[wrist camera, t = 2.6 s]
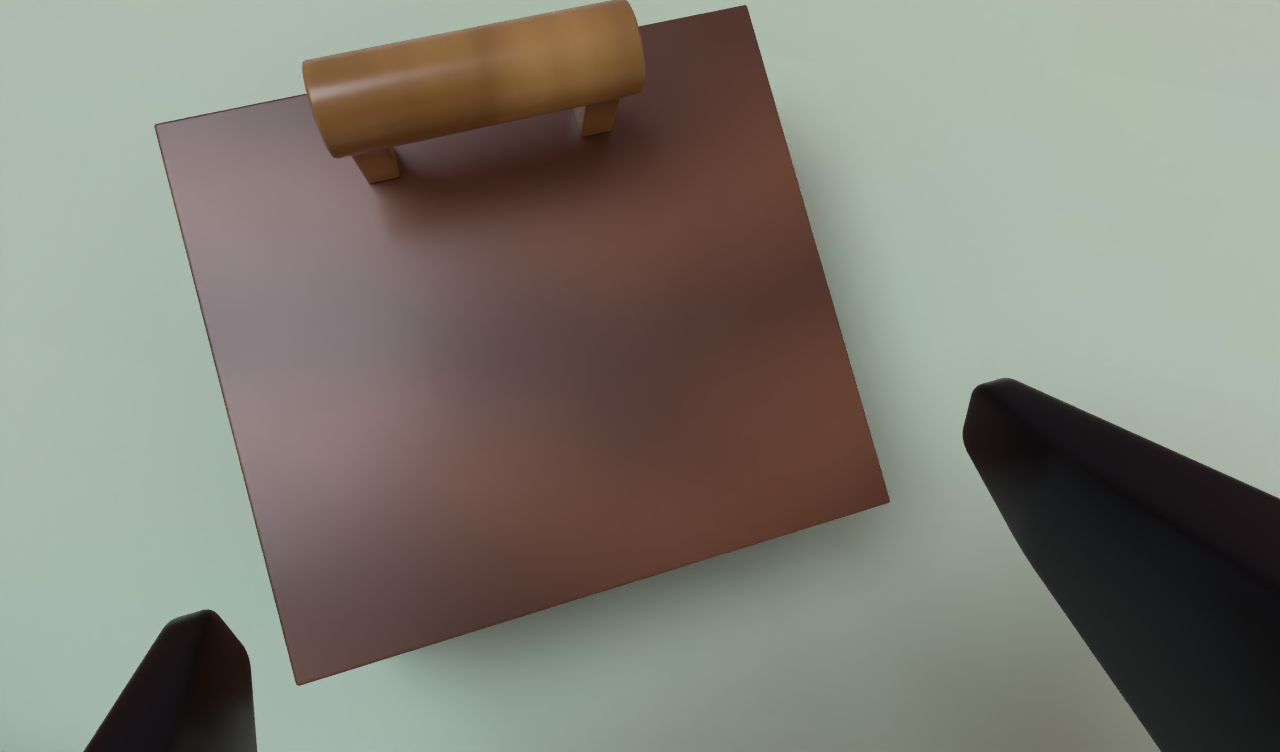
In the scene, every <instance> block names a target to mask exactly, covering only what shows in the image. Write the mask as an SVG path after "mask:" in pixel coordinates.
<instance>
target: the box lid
mask: <svg viewBox="0 0 1280 752" xmlns="http://www.w3.org/2000/svg"><path fill="white" fill-rule="evenodd" d="M302 72H303V79H304V84H305V88H306V92H307V94H303V95H298V96H293V97H288V98H283V99H278V100H273V101H268V102H263V103H258V104H253V105H248V106H243V107H238V108H234V109H229V110H224V111H219V112H214V113H209V114H204V115H199V116H194V117H189V118H184V119H179V120H174V121H169V122H164V123H159V124H156V125H155V131H156V135H157V138H158V142H159V146H160V150H161V154H162V158H163V162H164V166H165V170H166V174H167V178H168V182H169V186H170V190H171V194H172V197H173V201H174V205H175V209H176V213H177V217H178V221H179V225H180V229H181V233H182V237H183V241H184V245H185V249H186V253H187V256H188V260H189V264H190V268H191V272H192V276H193V280H194V284H195V288H196V292H197V296H198V300H199V304H200V308H201V312H202V316H203V319H204V323H205V327H206V331H207V335H208V339H209V343H210V347H211V351H212V355H213V359H214V363H215V367H216V371H217V375H218V378H219V382H220V386H221V390H222V394H223V398H224V402H225V406H226V410H227V414H228V418H229V422H230V426H231V430H232V434H233V437H234V441H235V445H236V449H237V453H238V457H239V461H240V465H241V469H242V473H243V477H244V481H245V485H246V489H247V493H248V497H249V500H250V504H251V508H252V512H253V516H254V520H255V524H256V528H257V532H258V536H259V540H260V544H261V548H262V552H263V556H264V559H265V563H266V567H267V571H268V575H269V579H270V583H271V587H272V591H273V595H274V599H275V603H276V607H277V611H278V615H279V618H280V622H281V626H282V630H283V634H284V638H285V642H286V646H287V650H288V654H289V658H290V662H291V666H292V670H293V674H294V677H295V681H296V684H297V685H299V686H300V685H303V684H306V683H310V682H313V681H316V680H319V679H322V678H326V677H329V676H332V675H335V674H339V673H342V672H345V671H348V670H351V669H355V668H358V667H361V666H364V665H368V664H371V663H374V662H377V661H380V660H384V659H387V658H390V657H393V656H397V655H400V654H403V653H406V652H409V651H413V650H416V649H419V648H422V647H426V646H429V645H432V644H435V643H438V642H442V641H445V640H448V639H451V638H455V637H458V636H461V635H464V634H467V633H471V632H474V631H477V630H480V629H484V628H487V627H490V626H493V625H496V624H500V623H503V622H506V621H509V620H513V619H516V618H519V617H522V616H525V615H529V614H532V613H535V612H538V611H542V610H545V609H548V608H551V607H554V606H558V605H561V604H564V603H567V602H571V601H574V600H577V599H580V598H583V597H587V596H590V595H593V594H596V593H600V592H603V591H606V590H609V589H613V588H616V587H619V586H622V585H625V584H629V583H632V582H635V581H638V580H642V579H645V578H648V577H651V576H654V575H658V574H661V573H664V572H667V571H671V570H674V569H677V568H680V567H683V566H687V565H690V564H693V563H696V562H700V561H703V560H706V559H709V558H712V557H716V556H719V555H722V554H725V553H729V552H732V551H735V550H738V549H741V548H745V547H748V546H751V545H754V544H758V543H761V542H764V541H767V540H770V539H774V538H777V537H780V536H783V535H787V534H790V533H793V532H796V531H799V530H803V529H806V528H809V527H812V526H816V525H819V524H822V523H825V522H828V521H832V520H835V519H838V518H841V517H845V516H848V515H851V514H854V513H857V512H861V511H864V510H867V509H870V508H874V507H877V506H880V505H883V504H886V503H889V502H890V499H889V496H888V492H887V489H886V486H885V482H884V479H883V475H882V472H881V468H880V465H879V461H878V458H877V454H876V451H875V448H874V444H873V441H872V437H871V434H870V430H869V427H868V423H867V420H866V416H865V413H864V410H863V406H862V403H861V399H860V396H859V392H858V389H857V385H856V382H855V378H854V375H853V372H852V368H851V365H850V361H849V358H848V354H847V351H846V347H845V344H844V340H843V337H842V334H841V330H840V327H839V323H838V320H837V316H836V313H835V309H834V306H833V302H832V299H831V296H830V292H829V289H828V285H827V282H826V278H825V275H824V271H823V268H822V264H821V261H820V258H819V254H818V251H817V247H816V244H815V240H814V237H813V233H812V230H811V226H810V223H809V219H808V216H807V213H806V209H805V206H804V202H803V199H802V195H801V192H800V188H799V185H798V181H797V178H796V175H795V171H794V168H793V164H792V161H791V157H790V154H789V150H788V147H787V143H786V140H785V137H784V133H783V130H782V126H781V123H780V119H779V116H778V112H777V109H776V105H775V102H774V99H773V95H772V92H771V88H770V85H769V81H768V78H767V74H766V71H765V67H764V64H763V61H762V57H761V54H760V50H759V47H758V43H757V40H756V36H755V33H754V29H753V26H752V23H751V19H750V16H749V12H748V9H747V6H746V5H743V6H739V7H734V8H729V9H724V10H719V11H714V12H709V13H704V14H699V15H694V16H689V17H684V18H679V19H674V20H669V21H664V22H659V23H654V24H649V25H644V26H640V27H638V24H637V20H636V17H635V15H634V12H633V10H632V8H631V6H630V4H629V3H628V2H627V1H626V0H611V1H606V2H601V3H596V4H590V5H585V6H580V7H575V8H570V9H565V10H560V11H555V12H550V13H544V14H539V15H534V16H529V17H524V18H519V19H514V20H509V21H504V22H499V23H493V24H488V25H483V26H478V27H473V28H468V29H463V30H458V31H453V32H447V33H442V34H437V35H432V36H427V37H422V38H417V39H412V40H407V41H401V42H396V43H391V44H386V45H381V46H376V47H371V48H366V49H361V50H356V51H350V52H345V53H340V54H335V55H330V56H325V57H320V58H315V59H310V60H305V61H304V62H303V64H302Z"/></svg>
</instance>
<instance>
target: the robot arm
mask: <svg viewBox="0 0 1280 752" xmlns="http://www.w3.org/2000/svg"><path fill="white" fill-rule="evenodd" d="M963 441H964V445H965V448H966V450H967V452H968V454H969V456H970V458H971V460H972V461H973V463H974V465H975V467H976V469H977V470H978V472H979V474H980V476H981V478H982V480H983V481H984V483H985V485H986V487H987V489H988V491H989V492H990V494H991V496H992V498H993V500H994V501H995V503H996V505H997V507H998V509H999V511H1000V512H1001V514H1002V516H1003V518H1004V520H1005V522H1006V523H1007V525H1008V527H1009V529H1010V531H1011V532H1012V534H1013V536H1014V538H1015V540H1016V541H1017V543H1018V545H1019V546H1020V548H1021V550H1022V551H1023V553H1024V555H1025V556H1026V558H1027V559H1028V561H1029V562H1030V564H1031V565H1032V567H1033V568H1034V570H1035V571H1036V572H1037V574H1038V575H1039V577H1040V578H1041V580H1042V581H1043V582H1044V584H1045V585H1046V587H1047V588H1048V590H1049V591H1050V593H1051V594H1052V595H1053V597H1054V598H1055V600H1056V601H1057V603H1058V604H1059V605H1060V607H1061V608H1062V610H1063V611H1064V613H1065V614H1066V615H1067V617H1068V618H1069V620H1070V621H1071V623H1072V624H1073V626H1074V627H1075V628H1076V630H1077V631H1078V633H1079V634H1080V636H1081V637H1082V638H1083V640H1084V641H1085V643H1086V644H1087V646H1088V647H1089V648H1090V650H1091V651H1092V653H1093V654H1094V656H1095V657H1096V659H1097V660H1098V661H1099V663H1100V664H1101V666H1102V667H1103V669H1104V670H1105V671H1106V673H1107V674H1108V676H1109V677H1110V679H1111V680H1112V681H1113V683H1114V684H1115V686H1116V687H1117V689H1118V690H1119V692H1120V693H1121V694H1122V696H1123V697H1124V699H1125V700H1126V702H1127V703H1128V704H1129V706H1130V707H1131V709H1132V710H1133V712H1134V713H1135V714H1136V716H1137V717H1138V719H1139V720H1140V722H1141V723H1142V725H1143V726H1144V727H1145V729H1146V730H1147V732H1148V733H1149V735H1150V736H1151V737H1152V739H1153V740H1154V742H1155V743H1156V745H1157V746H1158V747H1159V749H1160V750H1161V752H1280V499H1279V498H1277V497H1275V496H1272V495H1270V494H1268V493H1266V492H1264V491H1261V490H1259V489H1257V488H1255V487H1252V486H1250V485H1248V484H1246V483H1244V482H1241V481H1239V480H1237V479H1235V478H1232V477H1230V476H1228V475H1226V474H1223V473H1221V472H1219V471H1217V470H1215V469H1212V468H1210V467H1208V466H1206V465H1203V464H1201V463H1199V462H1197V461H1195V460H1192V459H1190V458H1188V457H1186V456H1183V455H1181V454H1179V453H1177V452H1174V451H1172V450H1170V449H1168V448H1166V447H1163V446H1161V445H1159V444H1157V443H1154V442H1152V441H1150V440H1148V439H1146V438H1143V437H1141V436H1139V435H1137V434H1134V433H1132V432H1130V431H1128V430H1125V429H1123V428H1121V427H1119V426H1117V425H1114V424H1112V423H1110V422H1108V421H1105V420H1103V419H1101V418H1099V417H1097V416H1094V415H1092V414H1090V413H1088V412H1085V411H1083V410H1081V409H1079V408H1076V407H1074V406H1072V405H1070V404H1068V403H1065V402H1063V401H1061V400H1059V399H1056V398H1054V397H1052V396H1050V395H1048V394H1045V393H1043V392H1041V391H1039V390H1036V389H1034V388H1032V387H1030V386H1027V385H1025V384H1023V383H1021V382H1019V381H1016V380H1014V379H1010V378H1002V379H998V380H994V381H991V382H987V383H984V384H980V385H978V386H977V387H976V388H975V389H974V390H973V392H972V395H971V399H970V403H969V407H968V411H967V415H966V419H965V423H964V427H963ZM84 752H257V743H256V730H255V717H254V704H253V691H252V678H251V667H250V661H249V657H248V654H247V652H246V650H245V648H244V646H243V645H242V644H241V642H240V641H239V640H238V639H237V637H236V636H235V635H234V634H233V632H232V631H231V630H230V629H229V627H228V626H227V625H226V624H225V623H224V621H223V620H222V619H221V618H220V616H219V615H218V614H217V613H216V612H214V611H212V610H209V609H208V610H202V611H198V612H195V613H191V614H188V615H184V616H181V617H178V618H175V619H173V620H171V621H170V622H169V623H168V624H167V625H166V626H165V627H164V628H163V630H162V631H161V633H160V634H159V636H158V637H157V639H156V640H155V642H154V643H153V645H152V646H151V648H150V650H149V651H148V653H147V654H146V656H145V657H144V659H143V660H142V662H141V664H140V665H139V667H138V668H137V670H136V671H135V673H134V674H133V676H132V677H131V679H130V681H129V682H128V684H127V685H126V687H125V688H124V690H123V691H122V693H121V695H120V696H119V698H118V699H117V701H116V702H115V704H114V705H113V707H112V708H111V710H110V712H109V713H108V715H107V716H106V718H105V719H104V721H103V722H102V724H101V725H100V727H99V729H98V730H97V732H96V733H95V735H94V736H93V738H92V739H91V741H90V743H89V744H88V746H87V747H86V749H85V750H84Z"/></svg>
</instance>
